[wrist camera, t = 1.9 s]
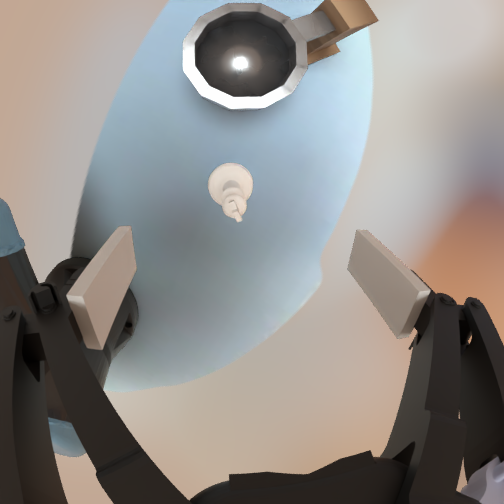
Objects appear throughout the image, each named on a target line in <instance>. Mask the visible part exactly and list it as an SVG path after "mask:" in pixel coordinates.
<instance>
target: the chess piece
mask: <svg viewBox="0 0 504 504" xmlns="http://www.w3.org/2000/svg"><path fill="white" fill-rule="evenodd" d="M208 190H209V193H210V195H211V197H212V198H213V199H214V201H215V202H217V203H218V204H220V205H222V209H223V212H224V213H225V214H226V215H227V216H228V217H231V218H235V219H236V221H237V222H239V221H242V218H241V216H242V215H243V214H244V213H245V211H246V208H247V204H246V201H247V199H248V198H249V197H250V195H251V193H252V190H253V179H252V176H251V174H250V172H249V171H248V170H247V169H246V168H245V167H244V166H242V165H240V164H237V163H225V164H222V165H220V166H218V167H217V168H216V169H215V170H214V171H213V172H212V173H211V175H210V177H209V180H208Z"/></svg>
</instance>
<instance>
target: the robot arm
mask: <svg viewBox="0 0 504 504" xmlns="http://www.w3.org/2000/svg"><path fill="white" fill-rule="evenodd" d="M24 246H25V243H24V240H23V239H22V238H21V237H20V235H19V233H18V230H17V227H16V225H15V222H14V219H13V217H12V214H11V210H10V208H9V206H8V204H7V203H6V202H5V201H4V200H2V199H1V198H0V504H68V502H67V499H66V497H65V493H64V490H63V487H62V483H61V480H60V476H59V472H58V468H57V464H56V460H55V455H54V453H57V454H60V455H64V456H69V457H79V456H82V455H83V454H85V453H87V454H88V456H89V458H90V460H91V461H92V463H93V465H94V467H95V468H96V471H97V472H96V476H97V479H98V481H99V483H100V484H101V486H102V488H103V489H104V490H105V492H106V493H107V495H108V496H109V498H110V499H111V500H112V502H113V503H114V504H504V345H503V343H502V341H501V339H500V337H499V334H498V332H497V330H496V328H495V326H494V324H493V322H492V320H491V318H490V316H489V314H488V312H487V310H486V308H485V306H484V305H483V303H481V302H480V300H477V298H472V297H468V298H467V299H466V301H465V303H464V305H457V304H456V301H455V300H454V299H453V298H451V297H450V296H449V295H446V294H443V293H437V294H436V293H435V292H434V291H433V290H432V289H431V288H430V287H429V286H428V285H427V284H426V283H425V282H423V280H422V279H421V278H419V276H418V275H417V274H416V273H415V272H414V271H412V270H411V269H409V268H408V267H407V266H406V265H405V264H404V263H403V262H402V261H400V259H398V258H397V257H396V256H395V255H394V254H393V253H392V252H391V251H390V250H389V249H387V247H385V246H384V245H383V244H382V243H381V242H380V241H379V240H378V239H376V238H375V237H374V236H373V235H372V234H371V233H370V232H368V231H367V230H356V234H355V239H354V243H353V248H352V252H351V256H350V260H349V264H348V268H347V269H348V271H349V272H350V273H351V275H352V276H353V277H354V279H355V280H356V281H357V282H358V284H359V285H360V287H361V288H362V289H363V291H364V292H365V293H366V295H367V296H368V297H369V299H370V300H371V302H372V303H373V305H374V306H375V307H376V308H377V310H378V312H379V313H380V314H381V316H382V317H383V319H384V320H385V322H386V323H387V325H388V326H389V327H390V329H391V330H392V332H393V333H394V335H395V336H396V338H397V339H401V338H406V337H409V335H410V334H411V332H412V330H413V328H415V329H416V330H417V334H416V337H415V338H414V340H413V342H412V343H411V346H410V347H409V350H410V349H411V348H412V347H413V350H412V355H411V361H410V366H409V370H408V375H407V379H406V383H405V388H404V392H403V395H402V400H401V403H400V407H399V410H398V413H397V417H396V420H395V423H394V426H393V430H392V432H391V435H390V438H389V441H388V444H387V446H386V448H385V450H384V452H383V453H382V455H381V456H380V457H373V456H372V453H371V451H370V450H369V451H366V452H363V453H360V454H357V455H353V456H349V457H345V458H342V459H339V460H337V461H335V462H333V463H331V464H329V465H327V466H325V467H323V468H321V469H319V470H317V471H314V472H312V473H310V474H304V475H303V474H286V473H285V474H284V473H273V472H260V473H247V474H229V481H225V482H221V483H219V484H215V485H213V486H211V487H209V488H206V489H205V490H203V491H201V492H199V493H198V494H197V495H195V496H194V497H193V498H191V499H190V500H187V498H186V497H184V495H183V494H182V493H181V492H180V491H179V490H178V489H177V488H176V487H175V486H174V485H173V484H172V483H171V482H170V481H169V480H168V479H167V477H166V476H165V475H163V473H162V472H161V471H160V469H159V468H158V467H157V466H156V465H155V463H154V462H153V461H152V460H151V459H150V457H149V456H148V455H147V454H146V452H145V451H144V450H143V449H142V448H141V446H140V445H139V444H138V442H137V441H136V440H135V438H134V437H133V435H132V434H131V433H130V431H129V430H128V428H127V427H126V425H125V424H124V423H123V421H122V420H121V418H120V416H119V415H118V413H117V412H116V410H115V409H114V407H113V406H112V404H111V402H110V401H109V399H108V397H107V396H106V394H105V392H104V391H103V388H104V384H105V381H106V377H107V374H108V370H109V367H110V364H111V361H112V360H113V358H114V357H115V356H116V355H117V354H118V353H119V351H120V350H121V349H122V348H123V347H124V346H125V345H126V344H127V342H128V341H129V340H130V339H131V337H132V335H133V333H134V330H135V327H136V324H137V320H138V309H137V304H136V301H135V298H134V296H133V294H132V292H131V291H130V289H129V288H128V287H129V285H130V283H131V281H132V278H133V276H134V274H135V272H136V270H137V266H136V260H135V253H134V246H133V238H132V230H131V226H119V227H118V228H117V229H116V230H115V231H114V233H113V234H112V235H111V236H110V237H109V239H108V240H107V241H106V242H105V244H104V245H103V246H102V247H101V249H100V250H99V251H98V252H97V254H96V255H95V256H94V258H93V259H92V260H90V259H86V258H70V259H66V260H64V261H62V262H60V263H59V264H58V265H57V266H56V267H55V268H54V269H53V270H52V271H51V272H50V274H49V275H48V276H47V278H46V280H45V282H43V283H38V281H37V278H36V276H35V274H34V271H33V269H32V267H31V264H30V262H29V259H28V257H27V254H26V251H25V249H24ZM471 335H472V339H471V342H470V344H469V343H468V340H469V338H470V337H471ZM459 412H460V419H459V418H458V415H459ZM463 458H464V468H465V475H466V480H467V484H468V485H466V486H465V487H463V488H462V490H461V493H460V492H458V491H456V488H457V484H458V480H459V476H460V471H461V466H462V460H463Z"/></svg>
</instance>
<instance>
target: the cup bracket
mask: <svg viewBox="0 0 504 504" xmlns="http://www.w3.org/2000/svg"><path fill="white" fill-rule="evenodd" d="M335 30H336V28H335V27H334V25H333V24H332V22H331V21H330V20H329V18H328V17H327V15H326V14H325V12H324V11H323V10H322V11H318V12H315V13H312V14H309V15H306V16H303V17H300V18H297V19H294V20H291V19H290V17H288V16H286V15H284V14H282V13H280V12H278V11H276V10H274V9H272V8H270V7H268V6H266V5H264V4H261V3H228V4H225V5H223V6H221V7H219V8H217V9H215V10H213V11H210V12H208V13H206V14H204V15H203V16H201V17H199V19H198V20H197V21H196V23H195V24H194V26H193V27H192V29H191V30H190V31H189V33H188V34H187V36H186V37H185V39H184V40H183V71H184V72H185V73H186V75H187V76H188V78H189V79H190V81H191V82H192V83H193V85H194V86H195V88H196V89H197V90H198V92H199V93H200V95H201V96H202V98H203V99H206V100H208V101H210V102H212V103H214V104H216V105H218V106H221V107H223V108H225V109H227V110H259V109H262V108H265V107H267V106H269V105H271V104H272V103H274V102H276V101H278V100H280V99H282V98H284V97H286V96H288V95H290V94H292V93H293V92H294V90H295V88H296V87H297V85H298V83H299V82H300V80H301V79H302V77H303V75H304V74H305V72H306V71H307V69H308V64H307V42H308V41H311V40H313V39H316V38H319V37H322V36H324V35H327V34H330V33H332V32H333V31H335Z"/></svg>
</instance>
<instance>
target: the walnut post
mask: <svg viewBox="0 0 504 504" xmlns="http://www.w3.org/2000/svg"><path fill="white" fill-rule="evenodd" d="M322 10H323V11H324V12H325V14H326V15H327V17H328V18H329V20H330V21H331V22H332V24H333V25H334V27H335V28H336V30H335V31H333V32H332V33H330V34H327V35H324V36H322V37H319V38H316V39H313V40H311V41H308V42H307V64H308V65H309V64H311V63H314V62H316V61H318V60H321V59H323V58H326V57H328V56H331V55H333V54H336V53H338V52H340V50H339V48H338V47H337V45H336V44H335V43H336V42H338V41H340V40H342V39H344V38H345V37H347V36H349V35H351V34H353V33H355V32H357V31H359V30H361V29H363V28H365V27H367V26H369V25H371V24H373V23H375V22H377V21H378V19H377V18H376V16H375V14H374V13H373V11H372V10H371V8H370V7H369V5H368V4H367V2H366V1H365V0H325V1H323V2H322V3H321V4H320V5H319V6H318V7H317V8H316V9H315V10H314V11H313V12H312V13H315V12H318V11H322ZM312 13H311V14H312Z"/></svg>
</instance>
